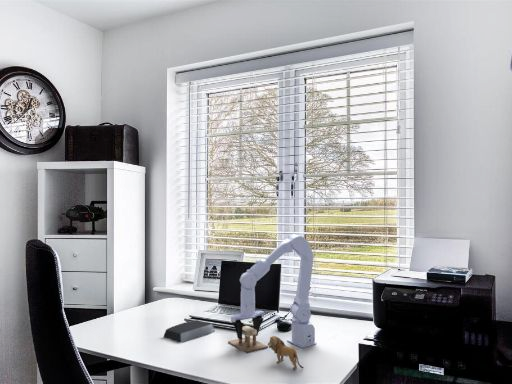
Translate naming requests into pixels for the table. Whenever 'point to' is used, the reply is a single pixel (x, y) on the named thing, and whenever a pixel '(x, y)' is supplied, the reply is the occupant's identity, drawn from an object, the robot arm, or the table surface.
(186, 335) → the external hard drive
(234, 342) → the walnut mat
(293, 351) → the lion figurine
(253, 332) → the birch stool
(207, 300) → the table surface
